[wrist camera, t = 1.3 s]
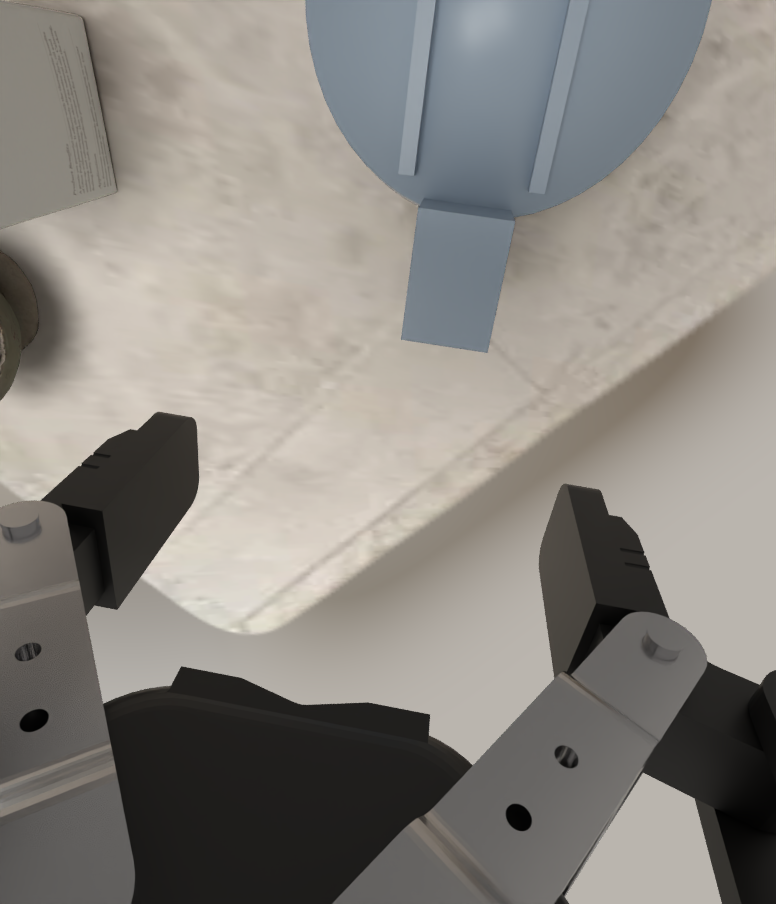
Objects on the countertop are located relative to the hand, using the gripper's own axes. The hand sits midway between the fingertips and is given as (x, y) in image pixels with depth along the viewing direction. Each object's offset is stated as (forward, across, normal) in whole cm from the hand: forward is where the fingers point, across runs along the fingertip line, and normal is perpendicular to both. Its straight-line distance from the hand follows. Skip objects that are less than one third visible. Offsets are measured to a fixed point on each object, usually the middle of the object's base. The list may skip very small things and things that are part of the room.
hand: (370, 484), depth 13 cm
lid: (+16, -1, -8) cm, 18 cm away
